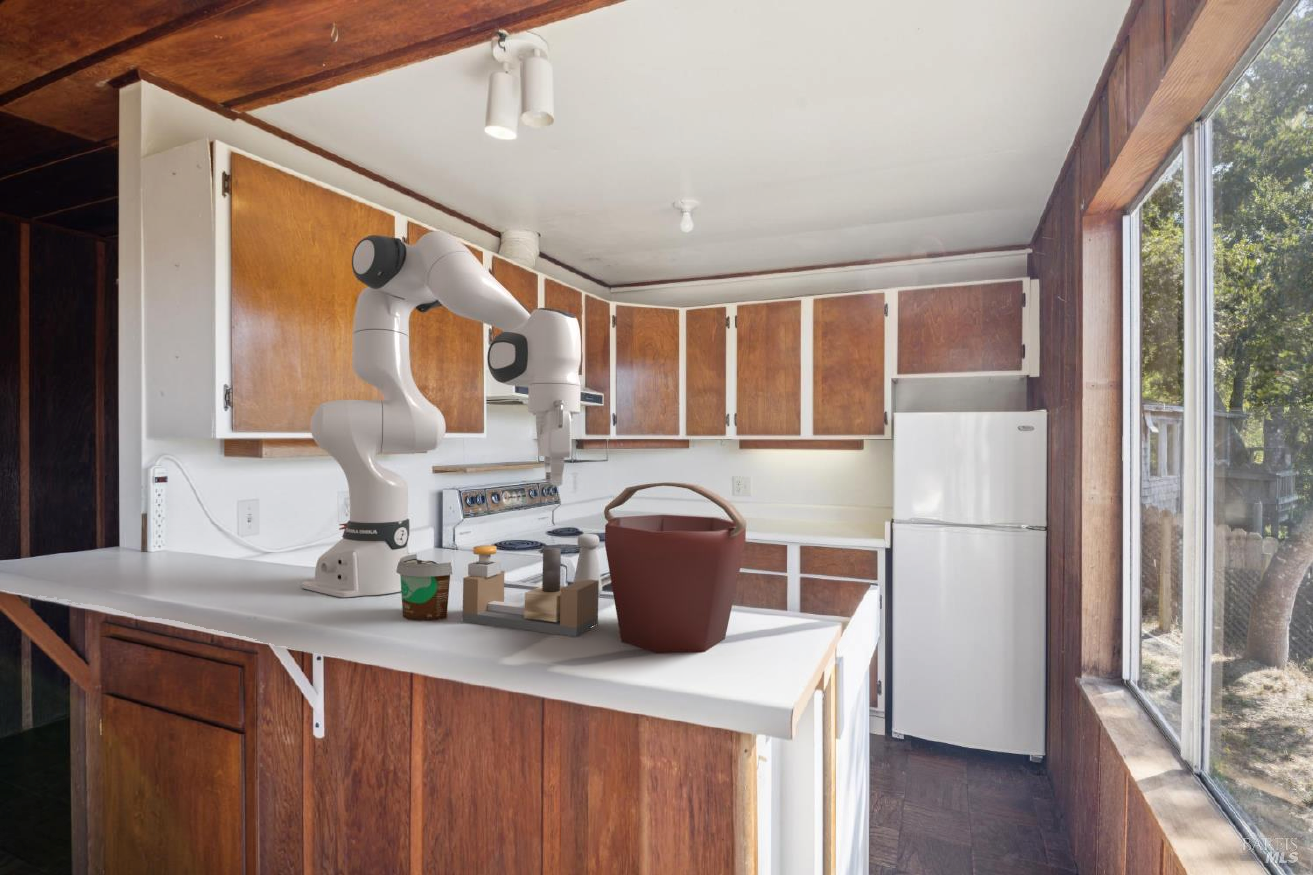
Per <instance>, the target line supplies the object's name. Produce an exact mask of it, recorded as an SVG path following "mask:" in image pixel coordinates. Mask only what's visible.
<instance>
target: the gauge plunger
mask: <svg viewBox="0 0 1313 875" xmlns="http://www.w3.org/2000/svg"><path fill="white" fill-rule="evenodd" d="M472 548H473V549H472V554H474V555H478V561H479V564H481V565H489V564H490V562H491V561H492V560H491V559H492V557H491V556H492V555H495V554H497V546H496V545H486V544H485V545H484V544H483V545H476V546H473V547H472Z"/></svg>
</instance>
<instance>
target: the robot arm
mask: <svg viewBox="0 0 1313 875" xmlns="http://www.w3.org/2000/svg"><path fill="white" fill-rule="evenodd" d="M351 268H352V271H353V275H354V277H355V278H356V279H357V280H358V281H359V282H361V283H362V284H364V285H365V286H367V287H366V288H363V289H362V291H361V292H360V293H359V295H358V298H357V301H356V304H355V310H354V317H353V328H352V330H353V331H352V370H353V372H354V374H355V375H356V376H357V377H358V378H359V379H360V380H361V381H363V382H364V383H366V384H368V385H370V386H372V387H374V388H376V389H378V390H379V391H380V392H381V393H382V395H383V396H384V399H383V400H369V399H349V398H348V399H341V400H339V399H338V400H332V401H326V402H323V403H321V404H320V405H318V407H317V408H316V409H315V411H314V412H313V414H312V416H311V418H310V428H309V429H310V432H311V436H312V438H313V440H314V441H315V442H314V443H315V444H316V445H317V446H318V447H320V448H321V450H323V451H325V452H326V453H327V454H329V455H330V456H331V457H332V458H333V459H334V460H335V461H336V462H337V463H338V464H339V466H340V468H341V469H342V471H343V474H344V476H345V478H346V482H347V486H348V494H349V495H348V496H349V520H348V521H347V522H345V523H339V525H338V526H342V527H339V528H338V530H339V531H340V530H344V531H343V534H342V538H341V539H340V540H339V541H338V542H336V544H334V545H332V546H331V547H330V548H329V549H328V550H326V551H325V552H324V553H322V554H321V555H320V556H319V557H318V559H317V562H316V564H315V571H314V578H310V579H308V580H305V581H304V582H302V583H301V588H302V589H304V590H305V589H306V590H308V591H313V592H317V593H321V594H325V595H329V596H334V597H339V598H351V597H359V596H360V597H361V596H377V595H378V596H379V595H386V594H394V593H399V592H401V578H400V574H398V573H397V572H396V570H397V566H398V562H400V559H401V558H402V557H405V556H408V555H410V554H409V553H410V552H409V546H408V541H409V536H410V528H411V526H410V519H409V518H408V506H409V504H408V502H409V500H408V499H409V497H408V495H409V487H408V483H407V482H406V480H405V478H403V477H402V476H401V475H400V474H398V473H396V472H394V471H392V470H390V469H388V468H385V467H382V465H380V464H379V463H378V461H377V455H379V454H417V453H423V452H429V451H434V450H436V449H438V447H439V446H440V445H441V443H442V442H443V440H444V438H445V435H446V430H447V428H446V426H447V425H446V420H445V417H444V415H443V414H442V412H441V410H440V409H439V408H438V407H437V406H435V404H433V403H432V402H430V401H429V400H427V398H426V397H425V396H424V394H422V392H421V391H420V390H419V388H418V387H417V385H416V382H415V380H414V377H413V375H412V374H413V373H412V369H411V360H410V359H411V358H410V326H409V325H410V324H409V322H410V316H411V313H412V312H413V311H414V309H415V310H417V312H420V313H427V312H429V311H430V310H431V309H434V308H435V309H436V308H439V307H441V306H442V307H445V308H446V309H447V310H448V311H450V312H451V313H453V314H454V315H457V316H460V317H462V318H466V319H468V320H469V319H470V320H472V321H476V322H479V323H483V324H485V325H489V326H491V327H494V328H496V329H498V330H500V331H502V332H500V333H499V334H498V335H496V336H495V337H494V338H493V340H492V341H491V342H490V344H489V346H488V351H487V355H486V356H487V357H486V358H487V359H486V360H487V367H488V370H489V373H490V374H491V376H492V377H493V379H494V380H495V381H497V382H498V383H502V384H504V385H507V386H512V387H521V388H528V403H527V404H528V406H527V407H528V409H527V410H528V413H530V414H532V415H533V416H535V427H536V438H537V440H536V442H537V449H538V453H539V456H540V457H543V458H544V461H543V462H544V463H543V464H544V471H545V477H544V478H545V482H546V483H547V484H548V483H550V485H552V486H558V487H560V486H562V485H563V475H564V470H565V468H564V467H565V458H570V457H571V455H572V423H574V415H577V414H580V413H581V397H582V395H581V388H582V387H581V386H582V384H581V380H580V377H579V376H580V371H581V362H582V340H581V330H580V325H579V324H580V323H579V321H578V318H577V317H576V316H575V315H574V314H573V313H571V312H569V311H564V310H561V309H554V308H549V307H538V308H536V309H534V310H533V311H532V312H531V311H530V310H529V309H528V308H527V307H526V306H525V305H524V304H523V303H522V302H521V301H520V300H518V299H517V298H516V297H515V296H514V295H513V294H512V293H511V292H510V291H509V290H508V289H506V288H505V287H504V286H503V285H502V284H501V283H500V282H499V281H498V280H497V279H496V277H494V276H493V275H492V274H491V273H490V272H489V271H488V269H487V268H486V267H485V266H484V265H483V263H481V261H479V259H478V257H477V256H475V255H474V254H473V253H472V252H471V250H470V249H469V248H468V247H467V246H465V245H464V244H463V243H462V242H461V241H460V240H459V239H457V238H456V237H454V236H453V235H451V234H450V233H448V232H445V231H440V230H434V231H429V232H427V233H425V234H424V235H422V236H421V237H420V238H419V239H418V240H417V242H416V243H415V244H408V243H406V242H403V241H402V240H401V238H399V237H391V236H385V235H377V234H374V235H373V234H371V235H367V236H365V237H364V238H363V239H360V241H359V242H358V243H357V244H356V246H355V248H354V249H353V253H352V256H351Z"/></svg>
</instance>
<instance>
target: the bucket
mask: <svg viewBox="0 0 1313 875" xmlns="http://www.w3.org/2000/svg"><path fill="white" fill-rule="evenodd" d="M663 486H664V487H675V488H683V489H687V490H690V491H692V492H695V493H697V494H698V495H700V496H701V497H704V498H706V499H708V500H710V501H711V502H712V503H714V504H715V505H716V506H718V507H720V508H721V509H722V510H723V511H724V512H725V513H726V515H727V516H728V517H729V518H730V519H731V520H728V519H726V518H725V519H724V518H721V517H718V516H717V517H714V516H699V515H698V516H697V515H695V516H693V515H682V514H681V515H679V514H649V515H646V514H645V515H634V516H618V517H617V516H616V517H614V516H613V514H612V513H611V511H610V510H612V509H615V508H617V507H620V506H621V505H624V504H625V503H626V502H628V501H629V499H631V498H632V497H633V496H634V495H635V494H636V493H637V492H638V491H642V490H647V489H650V488H655V487H663ZM603 514H604V519H605V520H606V521H607V522H606V524H605V526H604V527H605V528H604V529H605V530H604V531H605V532H604V548H605V553H606V560H607V564H608V571H609V576H610V577H609V578H610V582H611V588H612V589H611V590H612V594H613V599H614V600H613V601H614V605H615V611H616V612H615V613H616V617H617V624H618V630H619V636H620V641H621V643H623V644H626V645H629V646H631V647H635V648H638V649H641V650H644V651H648V652H650V653H653V654H676V653H677V654H679V653H682V654H683V653H705V652H707V651H708V650H710V649H712V648H713V647H715V646H716V645H718V644H720V643H721V642H722V641H724V640H725V639H726V635H727V630H728V626H729V622H730V616H731V611H732V609H733V608H732V607H733V603H734V599H735V594H736V589H737V585H738V581H739V579H738V578H739V574H740V571H741V570H740V569H741V566H742V562H743V561H742V560H743V556H744V551H745V547H746V539H747V538H746V535H747V534H746V531H747V529H746V528H747V521H746V520H745V519H744V518H745V517H743V515H742V514H741V513H740V511H739V510H738V509H737V507H735V506H734V505H733V504H732V503H731V502H729V501H727V500H726V499H725V498H723V497H722V496H720V495H719V494H717V493H715V492H713V491H711V490H709V489H707V488H705V487H703V486H700V485H699V484H692V483H685V482H676V481H675V482H672V481H668V482H655V483H645V484H639V485H638V484H637V485H633V486H628V487H626V488H625V489H624V490H623V491H622V492H620V494H619V495H617V496H616V497H615V498H614V499H613V500H612V501H611V502H609V503H608V504H607V505H606V506H605V508H604V510H603Z"/></svg>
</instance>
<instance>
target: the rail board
mask: <svg viewBox="0 0 1313 875" xmlns="http://www.w3.org/2000/svg"><path fill="white" fill-rule="evenodd" d="M501 565H502V563H501V561H496V560H491V562H490V564H489V565H481V564H479V560H478V561H475V562H471V563H468V564H467V568H468V570H467V571H468V572H467V576H465V577H463V578H462V579H463V580H462V622H466V623H471V624H472V623H473V624H479V625H488V626H494V627H502V628H508V629H509V628H510V629H515V630H516V629H517V630H523V631H530V632H536V633H537V632H539V633H543V634H552V635H560V636H565V635H566V636H565V637H573V638H577V637H579V636H581V635H582V634H584V633H586V632H587V631H589V630H590V628H591V627H592V626H594V625H596V624H597V625H599V598H598V593H599V581H598V580H588V579H582V580H580V581H577V582H575V583H574V582H572V583H570V584H568V585H566V587H563V588H561V601H560V613H559V621H557V622H551V621H544V620H536V619H528V618H524V614H525V603H524V604H523V603H522V604H521V603H516V602H515V603H514V602H507V601H505V570H502V568H501ZM597 625H596V626H597ZM594 627H595V626H594ZM592 628H593V627H592ZM592 628H591V629H592ZM588 629H589V630H588ZM585 631H586V632H585ZM583 632H584V633H583ZM581 633H582V634H581ZM580 634H581V635H580Z"/></svg>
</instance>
